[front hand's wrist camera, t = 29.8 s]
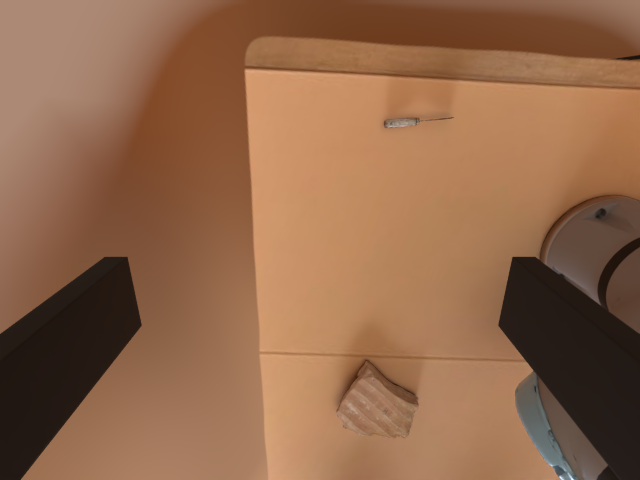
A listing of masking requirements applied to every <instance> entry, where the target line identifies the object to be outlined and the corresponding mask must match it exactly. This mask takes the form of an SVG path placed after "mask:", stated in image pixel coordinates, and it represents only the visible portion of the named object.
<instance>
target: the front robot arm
mask: <svg viewBox="0 0 640 480" xmlns="http://www.w3.org/2000/svg"><path fill="white" fill-rule="evenodd" d="M637 59H640V55H636V56H629V57H622V58H615V59H609V60H626V61H629V60H637ZM498 326H499V327H500V328H501V330H502V331H503V332H504V333H505V335H506V336H507V337H508V339H509V340H510V341H511V342H512V344H513V345H514V346H515V347H516V349H517V350H518V351H519V353H520V354H521V355H522V356H523V358H524V359H525V360H526V361H527V363H528V364H529V365H530V367H531V368H532V369H533V370H534V371H533V372H532V373H531V374H530V375H529V376H528V377H526V378H525V379H524V380H523V381H522V382H521V383H520V384H519V385H518V386H517V388H516V392H515V404H516V408H517V411H518V414H519V417H520V419H521V421H522V423H523V425H524V427H525V429H526V431H527V433H528V435H529V436H530V438H531V440H532V442H533V443H534V445H535V446H536V448H537V449H538V451H539V452H540V454H541V455H542V457H543V458H544V459H545V461H546V462H547V463H548V464H549V465H550V466H552V467H553V468H554V470H555V472H556V473H557V475H558V477H559V478H560V479H561V480H640V201H639V200H636V199H633V198H629V197H626V196H618V195H609V196H602V197H597V198H594V199H590V200H588V201H585V202H583V203H581V204H579V205H577V206H576V207H574V208H573V209H571V210H570V211H568V212H567V213H566V214H565V215H563V216H562V217H561V218H560V219H559V220H558V221H557V222H556V223H555V225H554V226H553V227H552V229H551V230H550V232H549V233H548V235H547V237H546V239H545V241H544V243H543V246H542V250H541V255H540V260H539V259H537V258H536V257H512V262H511V267H510V272H509V277H508V281H507V286H506V291H505V296H504V301H503V305H502V310H501V315H500V320H499V325H498ZM140 327H141V320H140V315H139V310H138V306H137V301H136V296H135V291H134V286H133V282H132V277H131V272H130V267H129V262H128V258H127V257H104V258H103V259H102V260H100V261H99V262H97V263H96V264H95V265H93V266H92V267H91V268H89V269H88V270H87V271H85V272H84V273H83V274H81V275H80V276H78V277H77V278H76V279H74V280H73V281H72V282H70V283H69V284H68V285H66V286H65V287H63V288H62V289H61V290H59V291H58V292H57V293H55V294H54V295H53V296H51V297H50V298H49V299H47V300H46V301H44V302H43V303H42V304H40V305H39V306H38V307H36V308H35V309H34V310H32V311H31V312H30V313H28V314H27V315H25V316H24V317H23V318H21V319H20V320H19V321H17V322H16V323H15V324H13V325H12V326H11V327H9V328H8V329H7V330H5V331H4V332H2V333H1V334H0V480H21V478H22V477H23V476H24V475H25V473H26V472H27V471H28V470H29V468H30V467H31V466H32V465H33V463H34V462H35V461H36V459H37V458H38V457H39V456H40V454H41V453H42V452H43V451H44V449H45V448H46V447H47V445H48V444H49V443H50V442H51V440H52V439H53V438H54V437H55V435H56V434H57V433H58V431H59V430H60V429H61V428H62V426H63V425H64V424H65V423H66V421H67V420H68V419H69V417H70V416H71V415H72V414H73V412H74V411H75V410H76V409H77V407H78V406H79V405H80V403H81V402H82V401H83V400H84V398H85V397H86V396H87V394H88V393H89V392H90V391H91V389H92V388H93V387H94V386H95V384H96V383H97V382H98V381H99V379H100V378H101V377H102V375H103V374H104V373H105V372H106V370H107V369H108V368H109V367H110V365H111V364H112V363H113V361H114V360H115V359H116V358H117V356H118V355H119V354H120V353H121V351H122V350H123V349H124V347H125V346H126V345H127V344H128V342H129V341H130V340H131V338H132V337H133V336H134V335H135V333H136V332H137V331H138V330H139V328H140Z"/></svg>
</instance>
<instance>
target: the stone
mask: <svg viewBox="0 0 640 480" xmlns="http://www.w3.org/2000/svg"><path fill="white" fill-rule="evenodd" d="M418 407H419V404H418V397H417V396H415V395H413V394H411V393H410V392H407V391H405V390H404V389H402V388H401V387H400V386H397V385H394V384H392V383H391V382H389V381H387V379H385V378H384V377H383V376H382V375H381V373H380V372H379V371H378V370H377V369H376V368H375V367H374V366H373V365H372V364H371V363H370V362H369V361H365V364H364V365H363V367H362V368H361V369H360V370H359V372H358V378H357V379H356V380H355V381H354V382H353V384H352V385H351V387H350V389H349V390H348V391H347V392H346V393H345V394H344V396H343V398H342V400H341V402H340V405H339V407H338V409H337V412H336V413H337V415H338V417H339V418H340V419H341V420H342V421H343V428H348V429H350V430H353V431H354V432H356V433H357V434H359V435H369V436H370V435H374V434H375V435H380V436H382V437H386V438H396V437H398V436H399V437H403V438H406V437H407V436H408V434H409V431H410V427H411V424H412V420H413V416H414V412H415V411H416V409H418Z"/></svg>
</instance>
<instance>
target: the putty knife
mask: <svg viewBox="0 0 640 480" xmlns="http://www.w3.org/2000/svg"><path fill="white" fill-rule="evenodd" d="M451 118H454V117H451ZM451 118H443V119H451ZM443 119H433V120H443ZM423 121H431V120H423ZM419 122H420V121H419V118H402V119H391V120H385V121H384V126H385V128H393V127H404V126H414V125H417V124H419Z"/></svg>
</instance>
